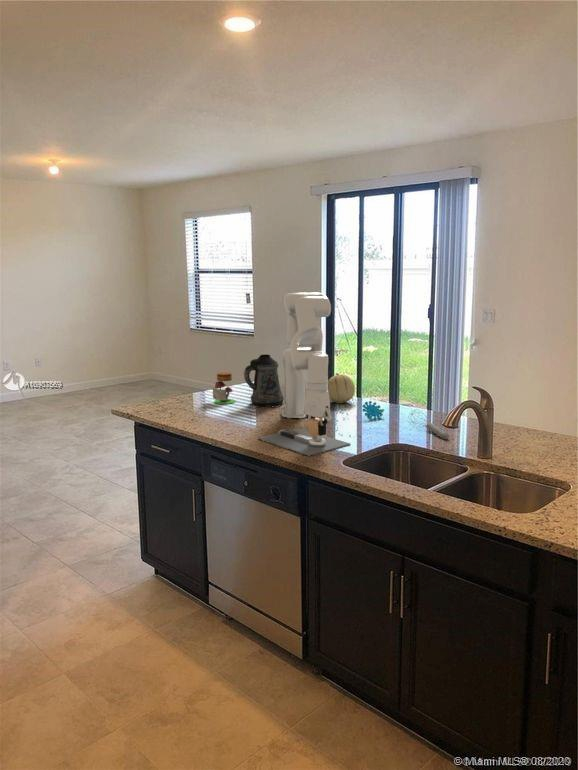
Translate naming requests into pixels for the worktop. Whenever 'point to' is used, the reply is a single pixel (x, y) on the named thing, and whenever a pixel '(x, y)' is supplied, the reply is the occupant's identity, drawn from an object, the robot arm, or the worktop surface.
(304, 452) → the mat
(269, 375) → the beer stein
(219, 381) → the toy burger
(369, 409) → the teal virus model
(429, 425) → the kitchen whisk
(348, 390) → the cantaloupe
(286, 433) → the ratchet
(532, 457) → the worktop surface
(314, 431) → the wooden block
